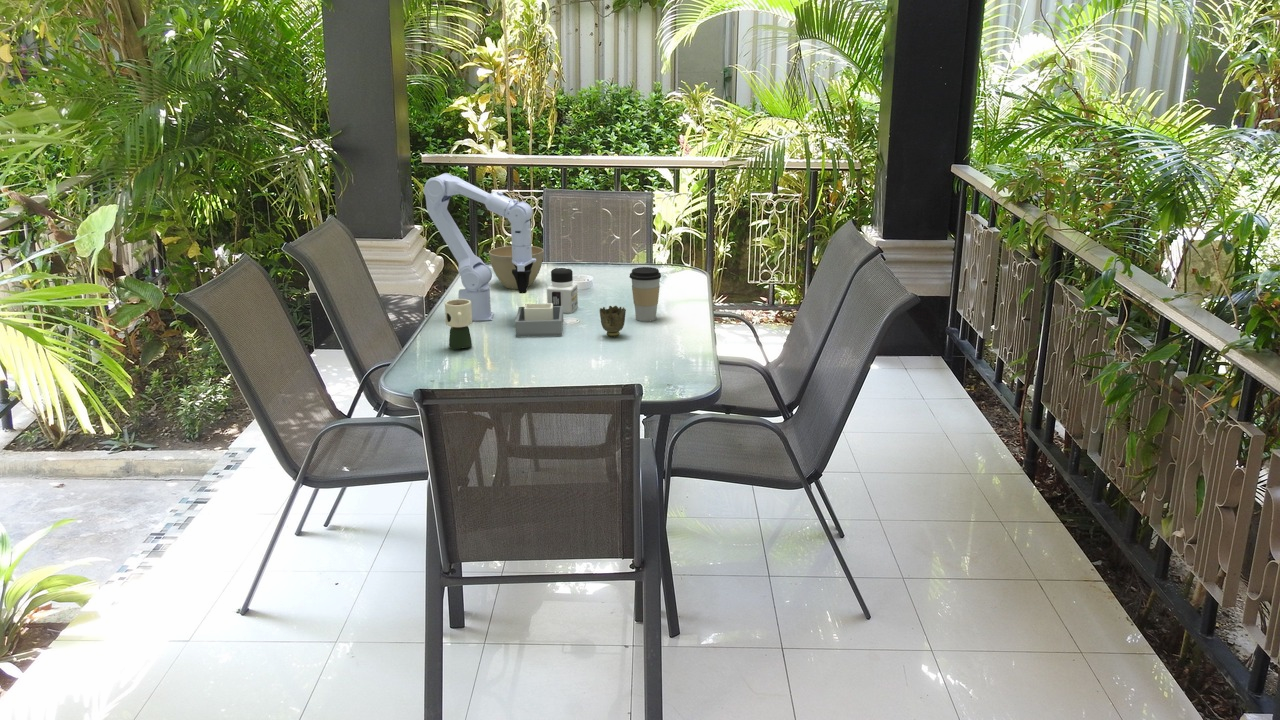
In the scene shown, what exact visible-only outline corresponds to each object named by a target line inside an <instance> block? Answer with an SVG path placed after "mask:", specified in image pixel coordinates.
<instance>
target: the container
mask: <svg viewBox="0 0 1280 720" xmlns="http://www.w3.org/2000/svg"><path fill="white" fill-rule="evenodd" d="M573 274H574V273H573V270H572V269H571V268H570V267H555V268H553V269H552V270H551V271H550V278H551V279H550V281H551V282H550V283H551V284H550V285H549V286H548V287H547V288H546V301H547V302H546V303H553V306H563V314H573V312H574V311H576V310H577V309H578V306H579V300H578V299H579V297H578V295H579V294H578V292H579V291H578V283H576V282H574V281H573V280H574V278H573Z"/></svg>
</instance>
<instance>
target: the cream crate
mask: <svg viewBox="0 0 1280 720" xmlns="http://www.w3.org/2000/svg"><path fill="white" fill-rule="evenodd" d="M524 307H525V308H524V316H525V321H545V320H553V303H547V302H546V303H525V305H524Z"/></svg>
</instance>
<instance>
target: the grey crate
mask: <svg viewBox="0 0 1280 720" xmlns="http://www.w3.org/2000/svg"><path fill="white" fill-rule="evenodd" d="M524 308H525V306H519V307H518V309H517V313H516V317H515V322H514V323H515V324H514V326H515V338H535V337H536V338H537V337H563V330H564V313H563V306H553V320H545V321H525V316H524Z"/></svg>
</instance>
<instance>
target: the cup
mask: <svg viewBox="0 0 1280 720" xmlns="http://www.w3.org/2000/svg"><path fill="white" fill-rule="evenodd" d="M626 313H627V309H626V308H625V307H624V306H623V307H622V306H617V305H614V306H612V305H609V306H608V308H606V307H604V306H603V307H599V317H600V323H601V326H602V328H603V330H604V331H605V332H606V335H607V337H608V338H617V337H619V336H620V331H622V329H623V328H624V326H625V322H626Z"/></svg>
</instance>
